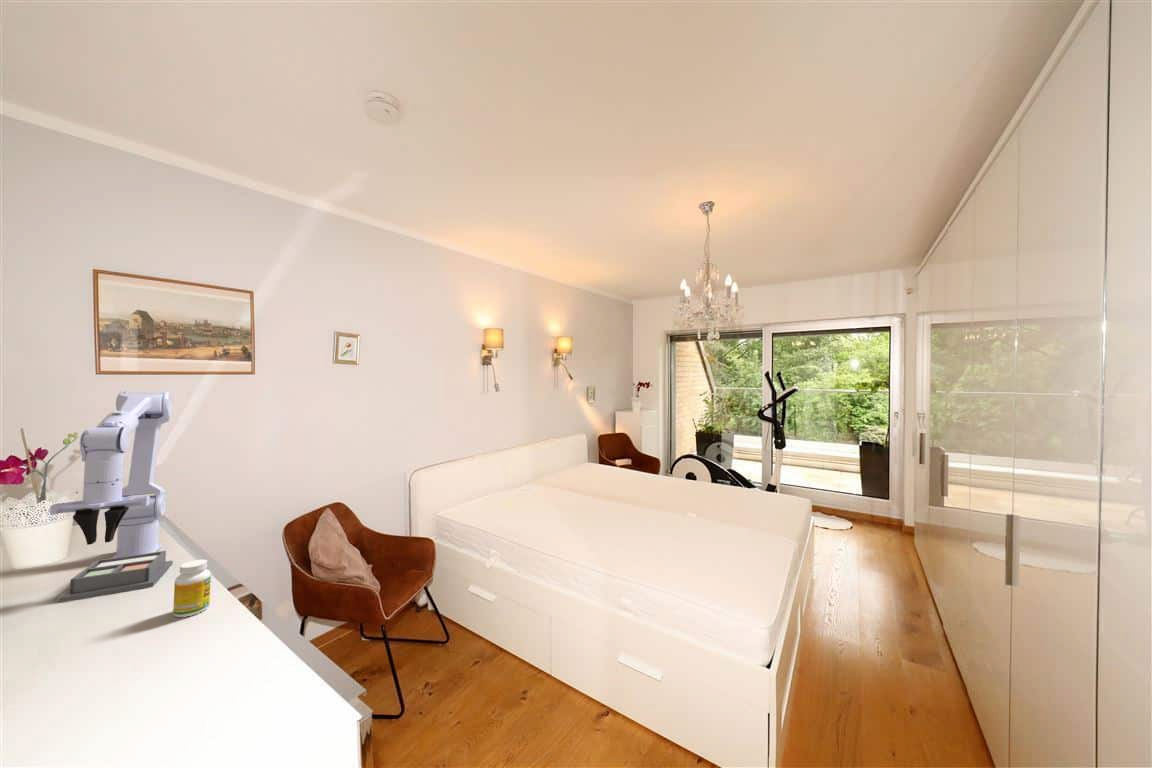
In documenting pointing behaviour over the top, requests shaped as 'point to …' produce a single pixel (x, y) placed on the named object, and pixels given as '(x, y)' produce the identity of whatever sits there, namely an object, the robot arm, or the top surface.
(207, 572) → the supplement bottle
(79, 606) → the top surface
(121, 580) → the grey compartment tray
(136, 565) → the terracotta key
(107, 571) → the green key
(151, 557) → the space bar
